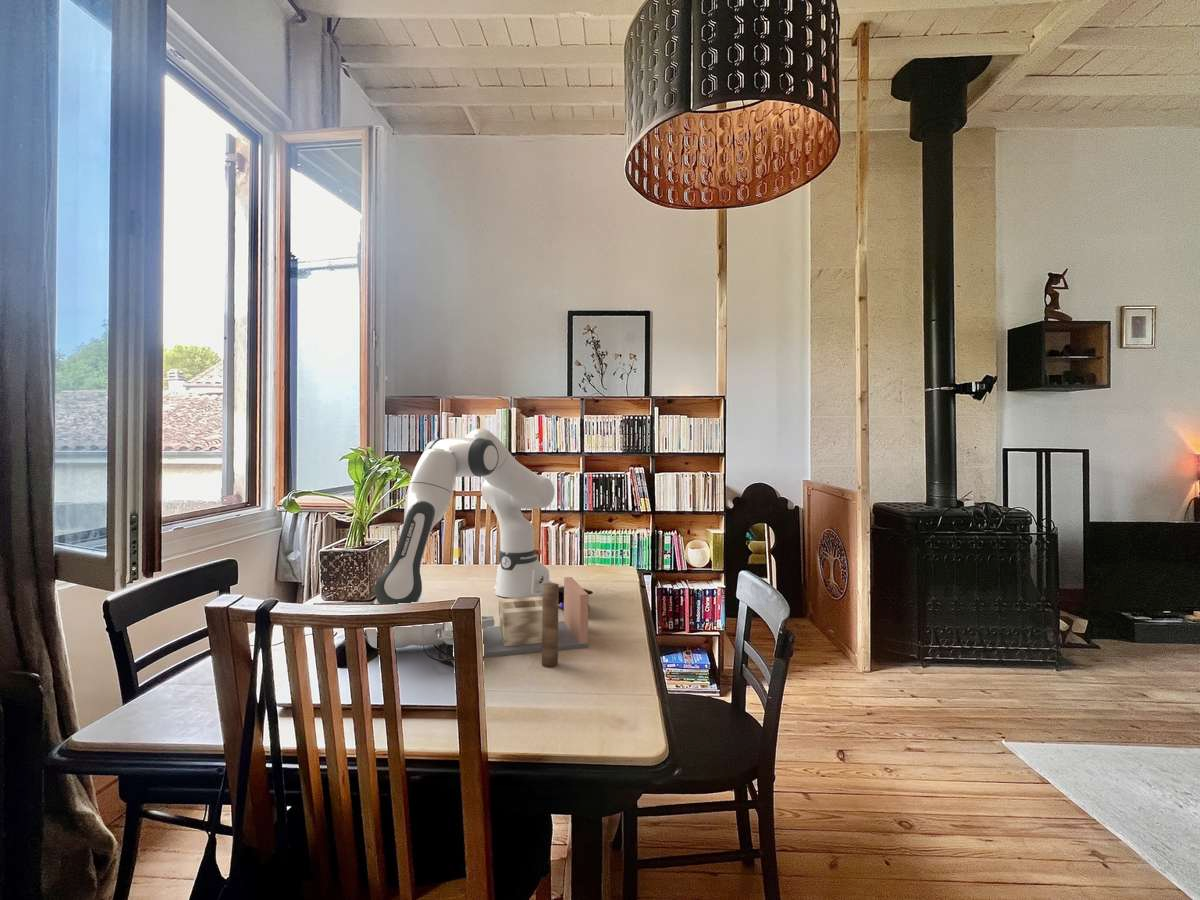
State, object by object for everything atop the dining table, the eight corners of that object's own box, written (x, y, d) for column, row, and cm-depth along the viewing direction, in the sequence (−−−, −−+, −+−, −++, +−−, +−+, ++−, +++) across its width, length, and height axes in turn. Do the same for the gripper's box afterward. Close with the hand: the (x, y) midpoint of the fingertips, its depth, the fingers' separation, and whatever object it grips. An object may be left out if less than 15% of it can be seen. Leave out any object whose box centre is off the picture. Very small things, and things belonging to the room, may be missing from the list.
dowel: (547, 660, 130) (548, 582, 130) (560, 663, 129) (561, 584, 128) (538, 665, 127) (539, 585, 127) (552, 668, 126) (552, 587, 125)
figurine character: (549, 612, 172) (575, 619, 159) (548, 586, 172) (574, 592, 160) (568, 608, 175) (595, 615, 163) (567, 583, 176) (594, 588, 163)
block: (504, 646, 136) (504, 612, 136) (498, 629, 148) (498, 599, 147) (553, 641, 139) (553, 609, 139) (544, 626, 151) (544, 596, 151)
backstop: (475, 658, 131) (475, 602, 131) (470, 632, 148) (470, 582, 148) (587, 647, 139) (588, 594, 138) (570, 624, 156) (571, 577, 156)
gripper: (436, 626, 127) (498, 621, 131) (436, 601, 147) (490, 597, 151) (436, 654, 128) (498, 648, 131) (436, 625, 147) (490, 620, 151)
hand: (493, 620), depth 141 cm, fingers closed
